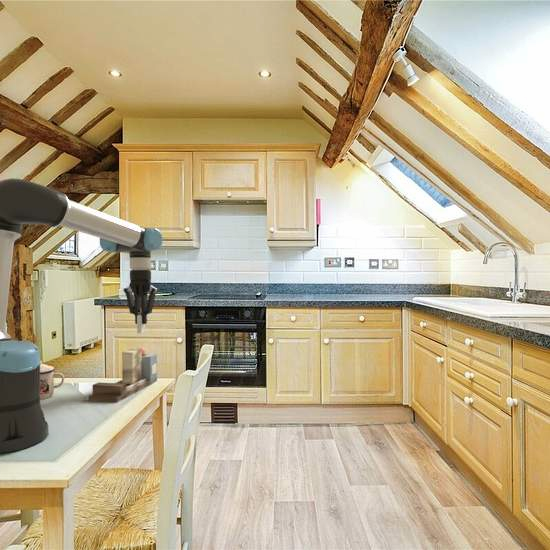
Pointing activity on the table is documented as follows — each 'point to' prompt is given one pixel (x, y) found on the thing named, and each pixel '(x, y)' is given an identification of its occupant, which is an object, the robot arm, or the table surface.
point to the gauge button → (142, 351)
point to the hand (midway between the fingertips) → (141, 332)
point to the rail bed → (116, 390)
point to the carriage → (131, 366)
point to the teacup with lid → (48, 381)
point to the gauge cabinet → (149, 367)
